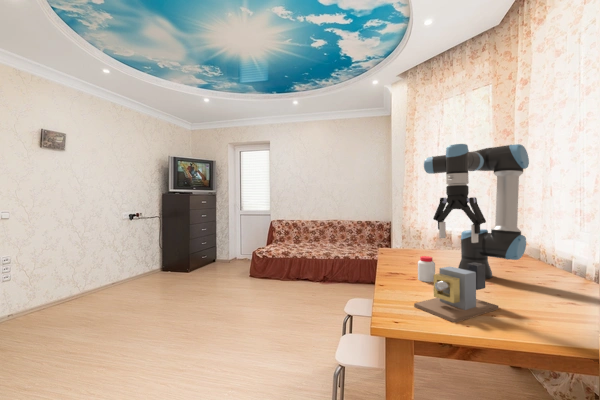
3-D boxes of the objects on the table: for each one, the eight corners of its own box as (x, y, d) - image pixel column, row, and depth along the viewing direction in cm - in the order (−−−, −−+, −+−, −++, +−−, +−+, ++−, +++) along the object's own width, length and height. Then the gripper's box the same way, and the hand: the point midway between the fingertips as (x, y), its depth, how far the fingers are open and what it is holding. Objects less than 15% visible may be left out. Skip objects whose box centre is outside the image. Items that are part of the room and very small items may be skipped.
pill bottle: (437, 282, 138) (436, 259, 138) (419, 281, 139) (419, 258, 139) (433, 278, 145) (432, 255, 145) (416, 277, 147) (416, 255, 147)
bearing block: (456, 295, 119) (456, 262, 119) (498, 309, 104) (498, 271, 104) (414, 306, 108) (413, 269, 108) (454, 322, 94) (454, 280, 93)
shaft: (474, 285, 114) (474, 262, 114) (485, 288, 111) (485, 264, 111) (433, 294, 104) (433, 269, 104) (443, 298, 100) (443, 272, 100)
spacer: (439, 295, 108) (439, 273, 108) (459, 301, 101) (459, 278, 101) (433, 296, 107) (433, 274, 107) (454, 303, 100) (453, 279, 100)
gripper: (423, 186, 122) (424, 237, 123) (483, 183, 100) (483, 245, 100) (436, 186, 126) (437, 235, 126) (496, 183, 103) (497, 243, 103)
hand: (457, 240), depth 113 cm, fingers open, 13 cm apart
